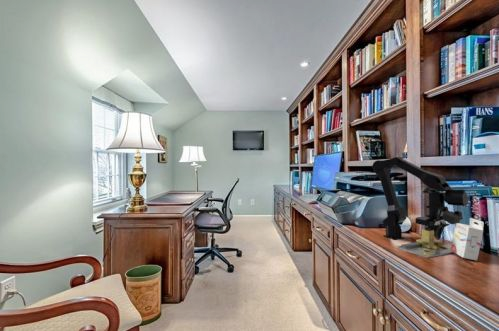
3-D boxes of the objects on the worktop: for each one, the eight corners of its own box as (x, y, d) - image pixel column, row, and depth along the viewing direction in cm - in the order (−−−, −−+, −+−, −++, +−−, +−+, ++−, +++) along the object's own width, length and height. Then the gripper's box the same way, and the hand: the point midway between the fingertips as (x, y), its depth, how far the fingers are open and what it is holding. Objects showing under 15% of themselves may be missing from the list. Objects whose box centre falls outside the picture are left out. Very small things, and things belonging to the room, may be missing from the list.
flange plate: (397, 248, 109) (397, 246, 109) (429, 243, 114) (429, 241, 114) (426, 258, 96) (426, 256, 96) (460, 251, 102) (460, 250, 102)
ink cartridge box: (449, 250, 101) (456, 214, 101) (463, 253, 100) (470, 217, 100) (462, 257, 93) (470, 219, 92) (478, 261, 92) (486, 222, 91)
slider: (416, 244, 110) (415, 225, 110) (421, 243, 111) (420, 225, 111) (433, 249, 103) (432, 229, 103) (438, 248, 104) (438, 228, 104)
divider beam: (400, 247, 108) (400, 241, 108) (431, 242, 113) (431, 236, 113) (417, 252, 100) (417, 246, 100) (449, 247, 106) (448, 241, 106)
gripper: (440, 207, 98) (441, 247, 98) (472, 204, 104) (473, 242, 104) (413, 204, 109) (415, 240, 109) (444, 201, 114) (445, 235, 114)
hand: (437, 239), depth 109 cm, fingers closed
